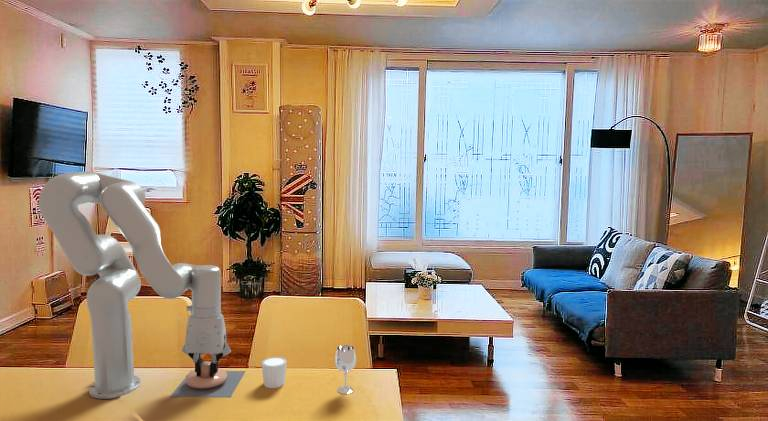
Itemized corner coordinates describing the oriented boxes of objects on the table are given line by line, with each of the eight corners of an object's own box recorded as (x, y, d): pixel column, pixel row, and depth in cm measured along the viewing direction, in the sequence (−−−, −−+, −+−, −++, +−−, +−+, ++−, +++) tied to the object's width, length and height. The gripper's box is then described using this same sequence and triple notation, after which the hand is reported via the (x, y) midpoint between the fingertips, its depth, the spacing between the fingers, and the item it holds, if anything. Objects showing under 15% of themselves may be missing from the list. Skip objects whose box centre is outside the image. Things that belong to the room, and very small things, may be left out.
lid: (178, 378, 145) (178, 362, 144) (215, 367, 152) (215, 352, 152) (196, 392, 137) (196, 375, 136) (234, 380, 145) (234, 364, 144)
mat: (169, 399, 137) (169, 396, 137) (191, 372, 153) (191, 370, 153) (230, 399, 137) (230, 397, 137) (245, 372, 153) (245, 371, 153)
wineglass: (352, 396, 140) (353, 353, 138) (332, 393, 141) (332, 351, 139) (358, 386, 145) (358, 345, 144) (338, 384, 146) (338, 343, 145)
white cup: (257, 385, 145) (256, 361, 144) (277, 377, 150) (277, 354, 149) (271, 393, 141) (270, 368, 140) (292, 385, 146) (291, 361, 145)
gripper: (170, 313, 139) (171, 379, 141) (232, 316, 139) (232, 382, 141) (181, 305, 146) (182, 368, 148) (240, 307, 146) (239, 370, 148)
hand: (206, 374), depth 145 cm, fingers closed on lid, 3 cm apart
